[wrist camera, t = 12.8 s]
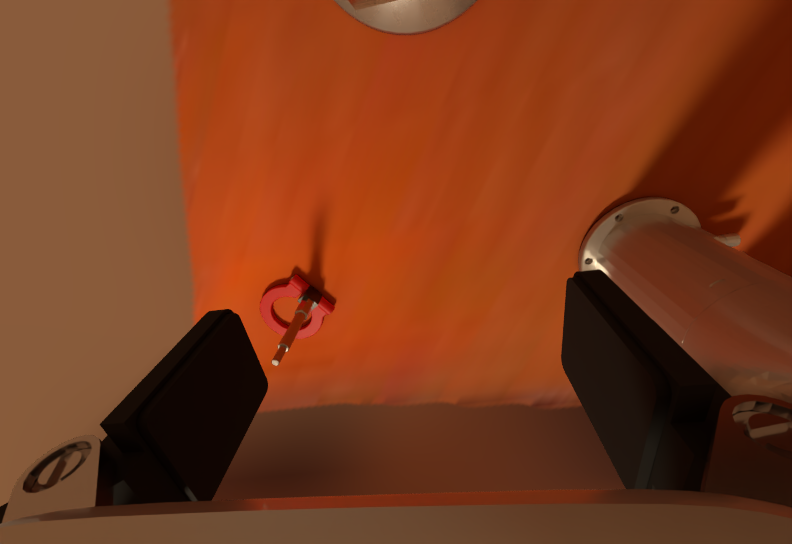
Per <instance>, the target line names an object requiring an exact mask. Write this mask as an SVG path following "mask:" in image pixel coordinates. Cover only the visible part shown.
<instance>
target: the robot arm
mask: <svg viewBox="0 0 792 544" xmlns="http://www.w3.org/2000/svg"><path fill="white" fill-rule="evenodd" d="M740 241H741V238H740V236H739V235H738V234H737V233H730V234H723V235H719V236H716V235H713V234H711V233H709V232H707V231H705V230H703V229H701V224H700V222H699V220H698V218H697V216H696V215H695V214H694V213H693V212H692V210H691V209H689V208H688V207H686V206H685V205H683V204H681V203H679V202H676V201H674V200H671V199H667V198H662V197H647V198H640V199H636V200H633V201H630V202H626V203H624V204H622V205H620V206H618V207H616V208H614V209H613V210H611V211H610V212H608V213H607V214H605V215H604V216H603V217H602V218H601V219H600V220H599V221H597V222H596V223H595V224H594V226H593V227H592V228H591V229H590V231H589V232H588V233H587V235H586V237H585V239H584V241H583V243H582V246H581V249H580V252H579V259H578V263H579V272H576V273H575V274H574V277H573V278H568V280H567V285H566V299H565V312H564V326H563V340H562V354H561V360H562V365H563V369H564V371H565V373H566V375H567V377H568V379H569V381H570V382H571V384H572V386H573V388H574V390H575V392H576V394H577V396H578V398H579V400H580V402H581V404H582V406H583V407H584V409H585V411H586V413H587V415H588V417H589V419H590V421H591V423H592V425H593V427H594V429H595V430H596V432H597V434H598V436H599V438H600V440H601V442H602V444H603V446H604V448H605V450H606V452H607V454H608V455H609V457H610V459H611V461H612V463H613V465H614V467H615V469H616V471H617V473H618V475H619V477H620V478H621V480H622V482H623V484H624V486H625V488H626V489H596V490H532V491H495V492H494V491H493V492H457V493H421V494H420V493H419V494H387V495H357V496H330V497H329V496H326V497H298V498H268V499H245V500H244V499H242V500H218V501H211V500H212V498H213V497H214V495H215V493H216V491H217V489H218V487H219V485H220V483H221V481H222V479H223V477H224V475H225V473H226V471H227V469H228V467H229V465H230V463H231V461H232V459H233V458H234V455H235V453H236V452H237V450H238V448H239V446H240V443H241V441H242V440H243V438H244V436H245V434H246V432H247V430H248V428H249V426H250V424H251V422H252V420H253V418H254V416H255V414H256V412H257V410H258V408H259V406H260V404H261V402H262V400H263V398H264V397H265V395H266V392H267V389H268V381H267V378H266V376H265V374H264V371H263V369H262V367H261V365H260V362H259V360H258V358H257V355H256V353H255V351H254V349H253V346H252V344H251V342H250V339H249V337H248V335H247V332H246V330H245V328H244V326H243V323H242V321H241V319H240V317H239V315H238V314H236V313H234V312H233V311H232V310H229V309H225V310H216V311H209V312H208V313H206V314H205V315H204V316H203V317H202V318H201V319H200V321H199V322H198V323H197V324H196V325H195V326H194V327H193V328H192V329H191V330H190V331H189V332H188V333H187V334H186V335H185V336H184V337H183V338H182V339H181V340H180V341H179V342H178V343H177V345H176V346H175V347H174V348H173V349H172V350H171V351H170V352H169V353H168V354H167V355H166V356H165V357H164V358H163V359H162V360H161V361H160V362H159V363H158V364H157V365H156V366H155V367H154V369H153V370H152V371H151V372H150V373H149V374H148V375H147V376H146V377H145V378H144V379H143V380H142V381H141V382H140V383H139V384H138V385H137V386H136V387H135V388H134V390H132V391H131V392H130V393H129V394H128V395H127V397H126V398H125V399H124V400H123V401H122V402H121V403H120V404H119V405H118V406H117V407H116V408H115V409H114V410H113V411H112V412H111V413H110V414H109V415H108V416H107V417H106V418H105V419H104V421H102V423H101V424H100V425H101V427H102V428H103V429H104V431H105V432H106V433H107V434H108V435H107V437H106V438H105V439H104V440H103V441H101V440H100V439H99V438H98V437H96V436H94V435H84V436H80V437H76V438H73V439H71V440H68V441H66V442H64V443H62V444H60V445H58V446H57V447H55V448H53V449H51V450H50V451H48V452H47V453H46V454H44V455H43V456H41V457H40V458H39V459H37V460H36V461H35V462H34V463H33V464H32V465H31V466H30V467H28V468H27V470H25V472H24V473H23V474H22V475H21V477H20V478H19V479H18V480H17V482H16V484H15V486H14V488H13V490H12V493H11V496H10V499H9V502H8V503H6V504H4V505H3V506H1V507H0V544H792V277H791V276H789V275H787V274H785V273H783V272H781V271H779V270H777V269H775V268H773V267H771V266H769V265H767V264H764V263H762V262H760V261H758V260H756V259H754V258H752V257H750V256H748V255H747V254H746V253H745V252H744V251H738V250H736V249H734V248H732V247H733V246H737V245H739V244H740Z"/></svg>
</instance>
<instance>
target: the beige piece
mask: <svg viewBox="0 0 792 544" xmlns="http://www.w3.org/2000/svg"><path fill="white" fill-rule="evenodd" d="M334 1H335V2H336V3H337V4H338V5H339V6H340V7H341V8H342V9H343V10H345V11H346V12H347V13H348V14H349V15H350V16H352V17H353V18H355V19H356V20H357V21H359V22H360V23H362V24H364V25H366V26H368V27H370V28H372V29H375V30H378V31H381V32H384V33H389V34H395V35H415V34H422V33H426V32H429V31H433V30H436V29H438V28H440V27H442V26H444V25H447V24H449V23H450V22H452V21H453V20H455V19H456V18H458V17H459V16H461V15H462V14H463V13H464V12H466V11H467V10H468V9H469V8H470V7H471V6H473V4H474V3H475V2H476V1H477V0H334Z"/></svg>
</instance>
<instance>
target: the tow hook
mask: <svg viewBox="0 0 792 544" xmlns="http://www.w3.org/2000/svg"><path fill="white" fill-rule="evenodd" d="M301 293H302V294H301ZM300 294H301V296H300V298H299V299H298V302H299V303H300V304H299V306H298V307H297V309H296V311H295V316H294V318H293V320H292V322H291V323H290V325H289V326H288V325H286V324H284V323H282V322H281V321H279V319H278V318H277V317H276V316H275V314H274V311H273V303H274V301H275V300H276V299H278V298H280V297H294V298H296V297H298V296H299V295H300ZM334 308H335V307H334V306H333V305H332V304H331V303H330V302H328V301H327V300H326V299H325V298H324V297H323V296H322V294H320V293H319V292H318V291H317V290H316V289H314V288H313V287H312V286H311V285H308V284H307V283H306V282H305V281H304V280H303V279H301V278H300V277H299V276H298V275H297V274H295V275H294V276H293V277H292V278H291V279H290V280H289V283H288V284H282V285H277V286H274V287H272V288H271V289H269V290H268V291H267V292H266V293H265V294H264V296H263V297H262V300H261V302H260V312H261V316H262V318H263V319H264V321H265V323H266V324H267V325H268V326H269V327H270V328H271V329H272V330H274V331H275V332H277V333H278V334H281V335H283V338H282V339H281V341H280V343H279V345H278V351H277V352H276V354H275V356H274V358H273V359H272V364H273V365H279V363H280V361H281V359H282V358H283V356H284V354H285V352H288V351H289V349H290V347H291V345H292V343H293V341H294V339H295V338H296V339H301V338H307V337H309V336H312V335H314V334H315V333H316V332H317V331H318V330H319V329H320V327H321V325H322V323H323V319H324V316H325V315H326V314H327V315H329V314H330V313H331V312H332V311H333V310H334ZM310 312H311V315H312V318H311V322H310V323H309V324H307V325H305V326H303V327H301V326H302V324H303V322H304V320H306V319H307V318H308V316H309V314H310Z"/></svg>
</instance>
